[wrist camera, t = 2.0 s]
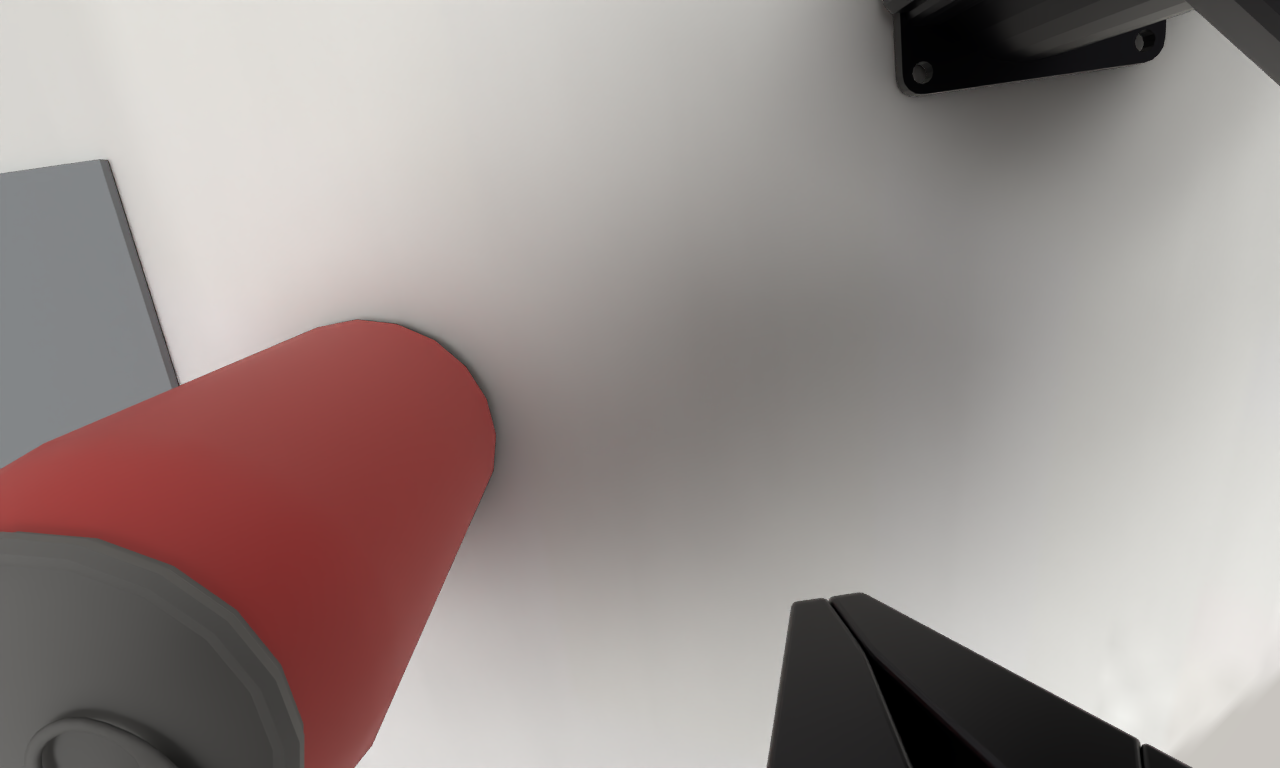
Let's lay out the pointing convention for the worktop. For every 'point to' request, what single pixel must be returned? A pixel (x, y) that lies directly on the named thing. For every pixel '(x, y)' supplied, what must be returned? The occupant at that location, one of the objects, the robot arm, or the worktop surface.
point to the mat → (71, 307)
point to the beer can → (238, 558)
